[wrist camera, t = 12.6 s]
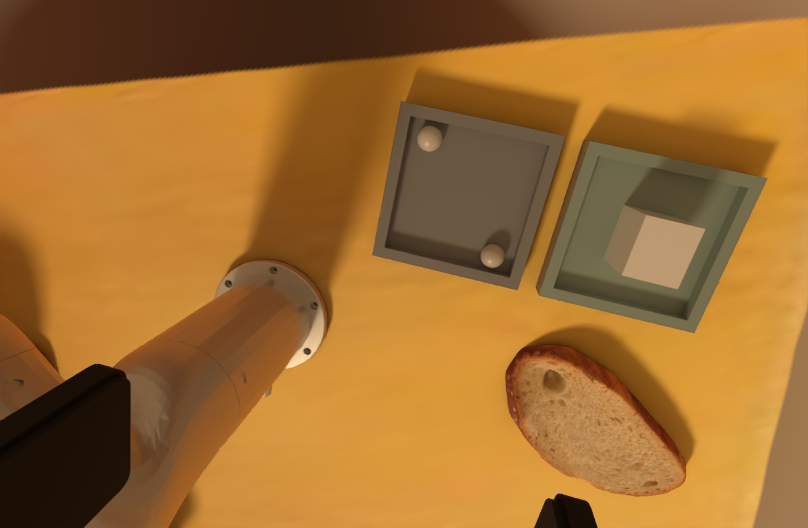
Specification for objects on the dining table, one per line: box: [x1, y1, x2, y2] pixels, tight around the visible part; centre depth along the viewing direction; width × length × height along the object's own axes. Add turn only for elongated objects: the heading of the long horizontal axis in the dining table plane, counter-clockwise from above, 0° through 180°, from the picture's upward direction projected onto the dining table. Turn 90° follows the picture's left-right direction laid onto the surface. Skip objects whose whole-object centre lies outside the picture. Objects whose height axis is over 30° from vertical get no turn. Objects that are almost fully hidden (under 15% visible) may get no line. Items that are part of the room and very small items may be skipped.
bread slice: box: [506, 345, 686, 497], centre depth 43 cm, size 18×18×4 cm
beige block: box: [603, 205, 705, 289], centre depth 35 cm, size 5×4×5 cm
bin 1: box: [372, 101, 566, 290], centre depth 38 cm, size 14×14×3 cm
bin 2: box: [536, 141, 767, 333], centre depth 37 cm, size 14×14×2 cm
